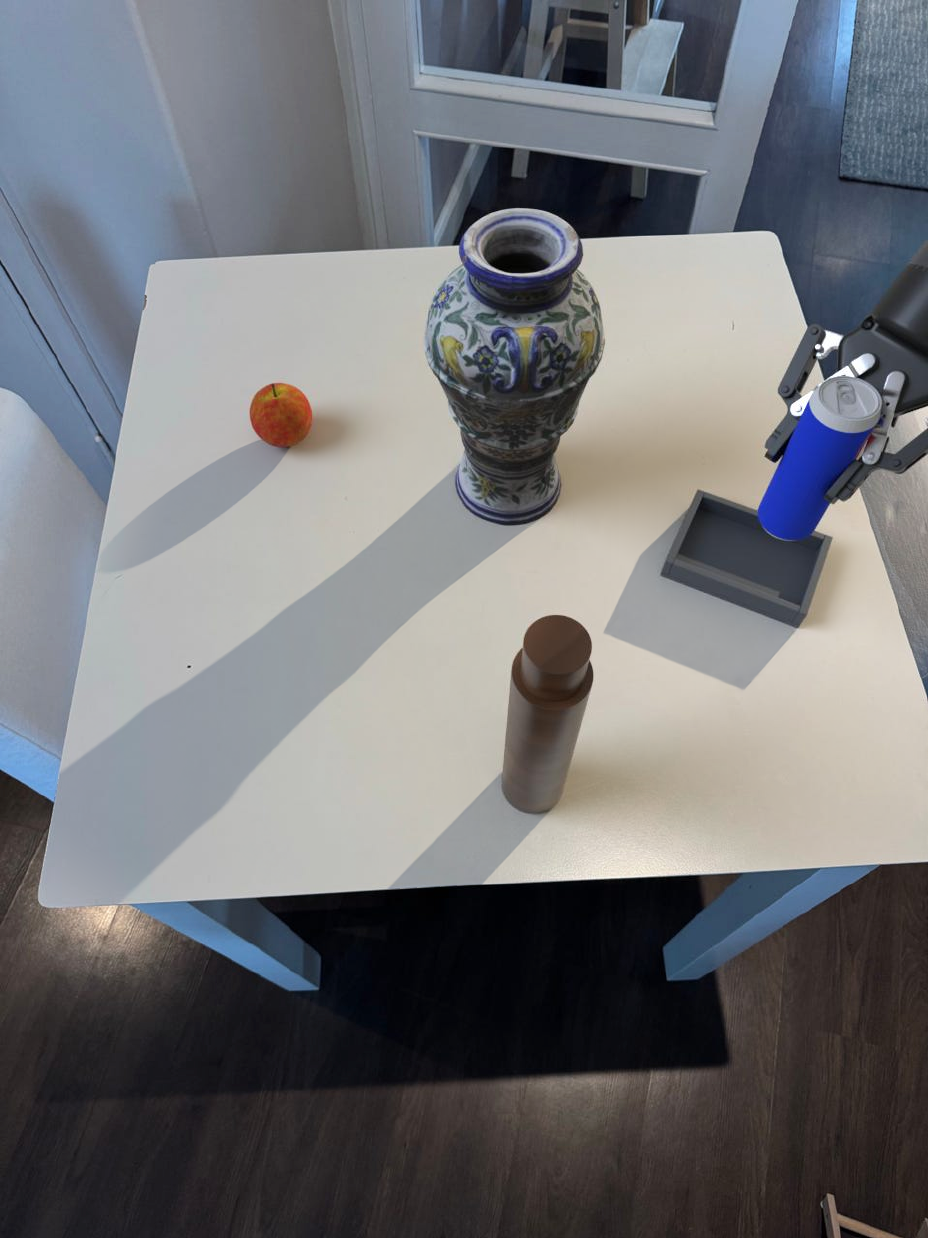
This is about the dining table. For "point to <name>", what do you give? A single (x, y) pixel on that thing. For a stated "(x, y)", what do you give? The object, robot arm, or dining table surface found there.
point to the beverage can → (818, 455)
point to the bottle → (545, 711)
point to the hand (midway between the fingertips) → (799, 479)
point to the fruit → (281, 415)
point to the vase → (514, 357)
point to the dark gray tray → (745, 560)
